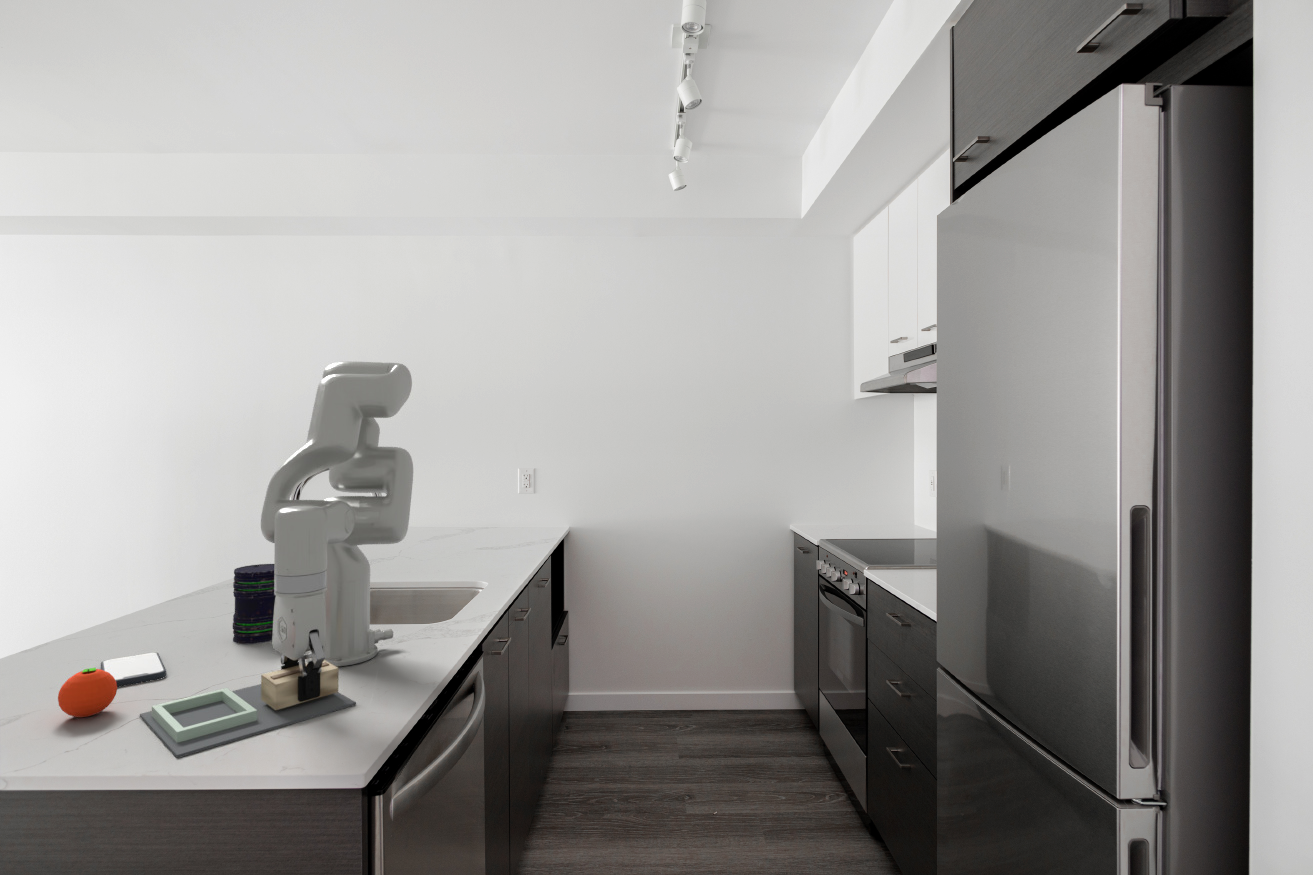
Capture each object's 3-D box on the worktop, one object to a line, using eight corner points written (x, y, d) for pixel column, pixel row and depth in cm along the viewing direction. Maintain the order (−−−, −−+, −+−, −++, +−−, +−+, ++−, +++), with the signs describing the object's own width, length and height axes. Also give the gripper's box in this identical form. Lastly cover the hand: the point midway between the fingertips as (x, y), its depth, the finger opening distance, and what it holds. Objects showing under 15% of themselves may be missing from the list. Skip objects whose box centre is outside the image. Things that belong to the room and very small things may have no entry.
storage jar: (292, 636, 142) (293, 567, 142) (241, 647, 135) (242, 574, 135) (275, 627, 149) (276, 561, 149) (225, 637, 141) (227, 567, 141)
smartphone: (99, 669, 123) (102, 692, 111) (99, 660, 123) (102, 682, 111) (158, 659, 129) (167, 680, 117) (158, 650, 129) (167, 670, 117)
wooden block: (322, 682, 112) (322, 657, 112) (338, 691, 108) (338, 666, 108) (261, 699, 105) (261, 673, 105) (275, 710, 101) (275, 683, 101)
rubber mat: (304, 675, 119) (304, 673, 119) (355, 704, 106) (355, 702, 106) (139, 716, 101) (139, 713, 101) (176, 757, 88) (176, 754, 88)
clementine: (61, 710, 103) (62, 665, 103) (118, 700, 107) (119, 656, 107) (54, 728, 96) (54, 680, 96) (115, 717, 100) (116, 671, 100)
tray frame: (226, 696, 108) (227, 687, 108) (256, 720, 99) (256, 710, 99) (151, 715, 100) (151, 705, 100) (176, 742, 91) (177, 731, 91)
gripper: (256, 577, 109) (255, 685, 109) (297, 596, 98) (297, 716, 98) (303, 570, 115) (303, 673, 115) (348, 587, 104) (347, 700, 104)
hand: (300, 691), depth 107 cm, fingers closed on wooden block, 6 cm apart
